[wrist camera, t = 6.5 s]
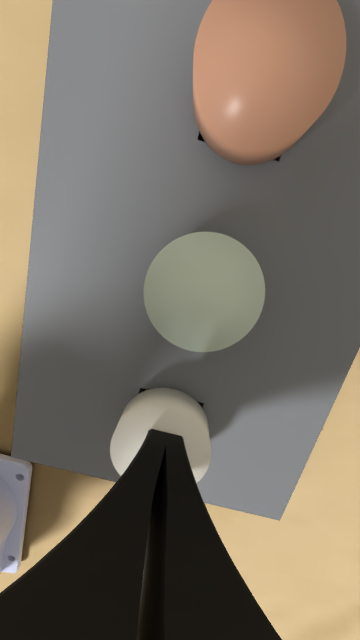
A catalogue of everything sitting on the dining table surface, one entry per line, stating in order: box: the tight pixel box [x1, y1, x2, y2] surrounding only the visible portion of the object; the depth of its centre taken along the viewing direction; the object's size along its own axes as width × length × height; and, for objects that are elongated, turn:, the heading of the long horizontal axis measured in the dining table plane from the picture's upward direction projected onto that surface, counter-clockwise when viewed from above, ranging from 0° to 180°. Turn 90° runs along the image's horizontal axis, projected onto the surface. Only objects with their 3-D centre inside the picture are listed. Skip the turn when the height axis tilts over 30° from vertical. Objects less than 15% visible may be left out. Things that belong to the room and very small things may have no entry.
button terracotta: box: [193, 0, 346, 165], centre depth 8 cm, size 4×4×4 cm
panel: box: [11, 0, 360, 520], centre depth 11 cm, size 21×14×2 cm, turn 166°
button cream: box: [110, 388, 211, 483], centre depth 12 cm, size 4×4×4 cm
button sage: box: [144, 232, 265, 352], centre depth 10 cm, size 4×4×4 cm
